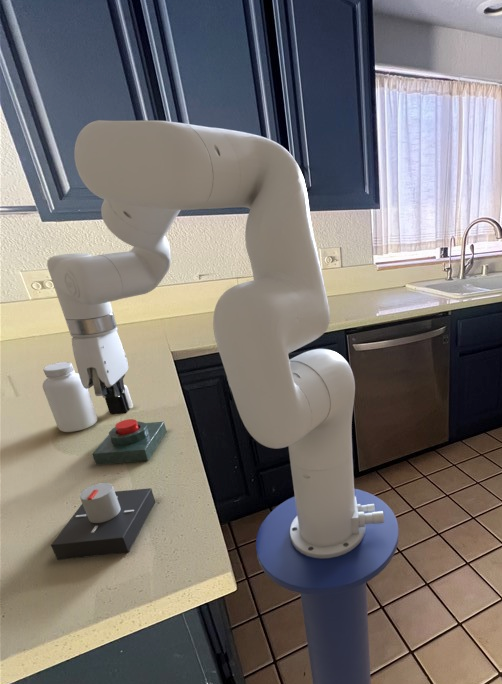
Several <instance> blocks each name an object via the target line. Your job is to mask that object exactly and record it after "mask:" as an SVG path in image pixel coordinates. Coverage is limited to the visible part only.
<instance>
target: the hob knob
mask: <svg viewBox="0 0 502 684" xmlns="http://www.w3.org/2000/svg"><path fill="white" fill-rule="evenodd" d="M79 498H80V501H81V505H82V504H83V506H84V509H85V511H86V514H87V516H88V519H89V521H90V522H92V523H102V522H106V521H108V520H110V519H112V518H114V517H115V516H117V515H118V514H119V512H120V510H121V508H120V505H119V502H118V499H117V497H116V494H115V488H114V485H113V484H112V483H110V482H100V483H99V482H98V483H95V484H92V485H90V486H88V487H86V488H85V489H83V490H82V491H81V492H80V494H79Z"/></svg>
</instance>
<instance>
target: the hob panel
mask: <svg viewBox="0 0 502 684" xmlns="http://www.w3.org/2000/svg"><path fill="white" fill-rule="evenodd" d="M114 491H115V490H114ZM115 494H116V497H117V499H118V502H119V505H120V508H121V510H120V512H119V514H118V515H117V516H115V517H114V518H112V519H110V520H108V521H106V522H102V523H92V522H90V521H89V519H88V516H87V514H86V511H85V509H84V506H83V504H82V503H81V504H80V505H79V507H78V509H77V510H76V511H75V512H74V513H73V515H72V517H70V519H69V521H67V523H66V524H65V525H64V526H63V528H62V529H61V531H60V532H59V533H58V535H56V537H55V539H54V540H53V541H52V542H51V543H50V547H51V549H52V552H53V554H54V556H55V558H56V560H57V561H61V560H70V559H71V560H72V559H80V558H88V557H97V556H99V557H100V556H108V555H116V554H117V555H118V554H126V553H127V554H128V553H129V552H130V550H131V549H132V546H133V545H134V543H135V541H136V539H137V537H138V535H139V534H140V531H141V529H142V528H143V526H144V524H145V523H146V521H147V518H148V516H149V515H150V513H151V511H152V509H153V507H154V505H155V504H156V499H155V496H154V493H153V489H152V488H151V487H149V488H139V489H137V488H136V489H129V490H127V489H125V490H116V491H115Z"/></svg>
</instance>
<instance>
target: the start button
mask: <svg viewBox="0 0 502 684" xmlns="http://www.w3.org/2000/svg"><path fill="white" fill-rule="evenodd" d="M115 427H116V430H117V433H118V435H127V434H130V433H133V432H135V431H137V430H139V427H138V423H137V420H136V419H135V418H127V419H124V420H121V421H119V422H117V423H116V424H115V425H114V428H115Z"/></svg>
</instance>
